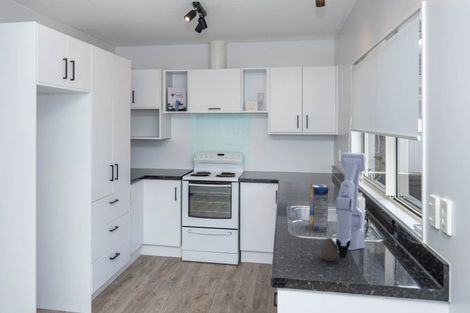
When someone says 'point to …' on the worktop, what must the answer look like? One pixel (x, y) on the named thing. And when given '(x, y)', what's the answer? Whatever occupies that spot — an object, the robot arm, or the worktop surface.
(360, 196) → the milk
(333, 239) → the letter cube
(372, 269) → the worktop surface
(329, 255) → the vase
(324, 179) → the worktop surface
